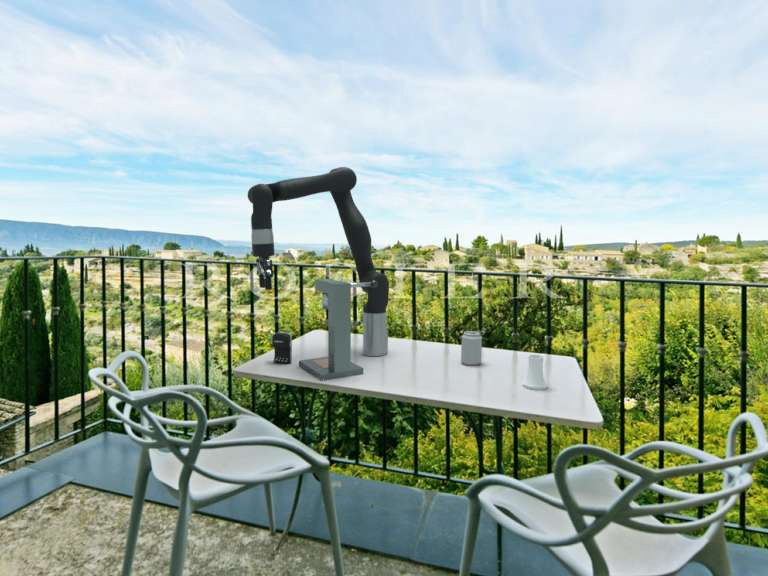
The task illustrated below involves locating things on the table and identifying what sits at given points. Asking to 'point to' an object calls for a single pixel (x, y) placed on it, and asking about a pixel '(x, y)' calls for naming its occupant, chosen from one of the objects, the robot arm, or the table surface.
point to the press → (336, 331)
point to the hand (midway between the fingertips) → (265, 288)
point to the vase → (535, 373)
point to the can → (471, 348)
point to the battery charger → (282, 347)
